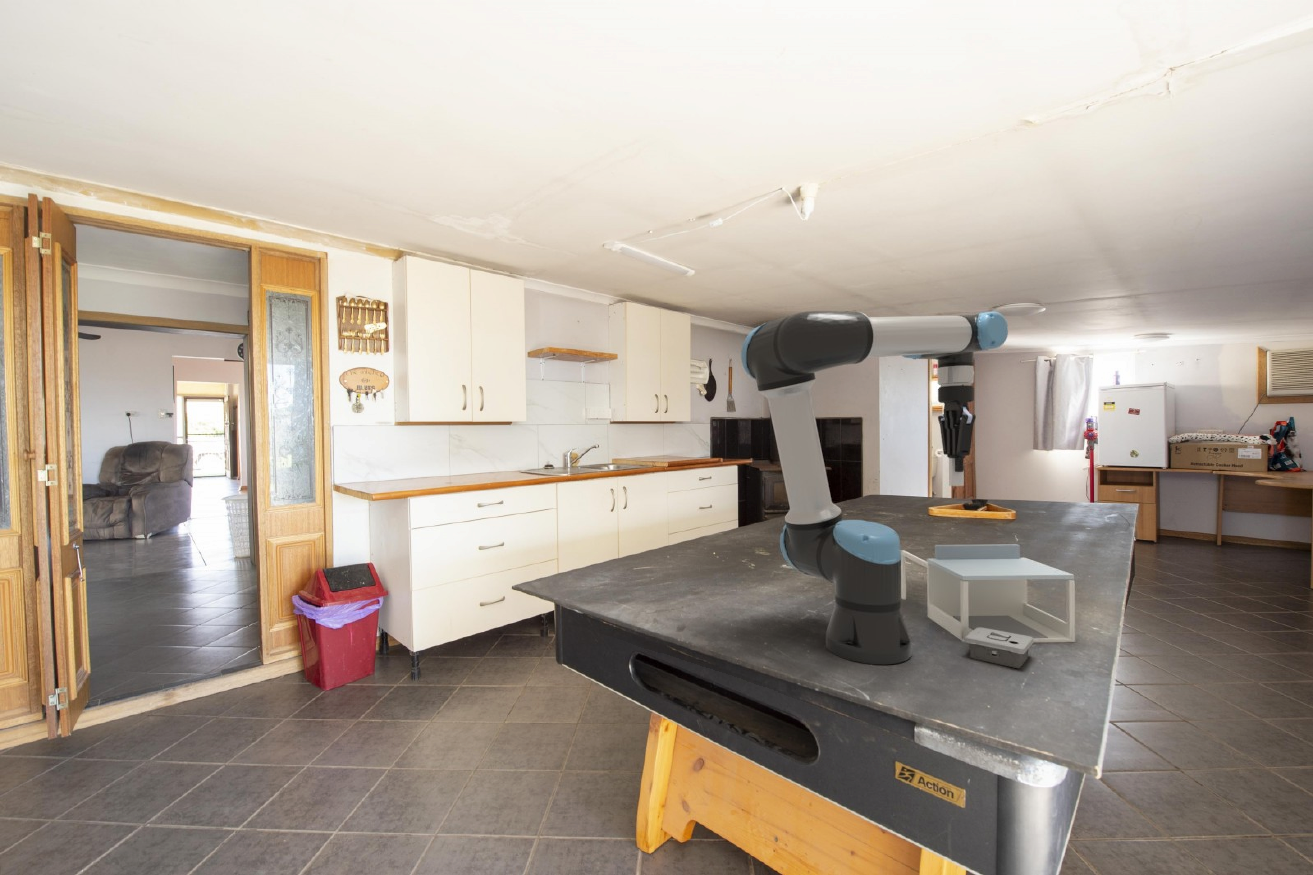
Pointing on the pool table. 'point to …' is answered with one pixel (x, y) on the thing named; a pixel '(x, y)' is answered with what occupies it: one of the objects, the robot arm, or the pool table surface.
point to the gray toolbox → (999, 646)
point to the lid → (991, 563)
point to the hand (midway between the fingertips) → (956, 485)
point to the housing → (990, 605)
